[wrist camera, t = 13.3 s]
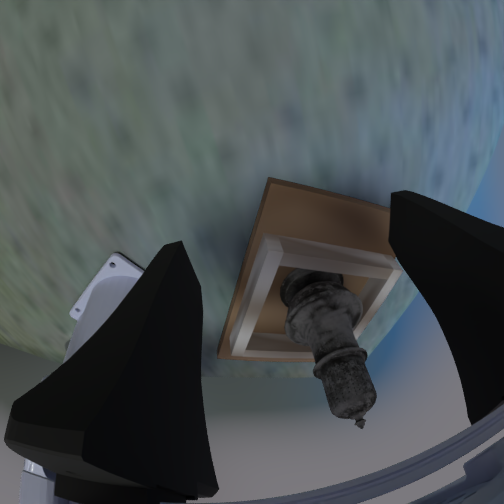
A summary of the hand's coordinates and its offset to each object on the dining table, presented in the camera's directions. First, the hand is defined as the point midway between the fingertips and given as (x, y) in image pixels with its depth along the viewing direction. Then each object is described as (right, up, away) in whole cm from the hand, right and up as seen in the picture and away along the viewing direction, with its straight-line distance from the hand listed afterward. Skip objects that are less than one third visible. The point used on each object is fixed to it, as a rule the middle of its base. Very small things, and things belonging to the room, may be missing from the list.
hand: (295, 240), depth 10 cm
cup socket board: (+3, -4, +15) cm, 16 cm away
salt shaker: (+3, -3, +14) cm, 14 cm away
